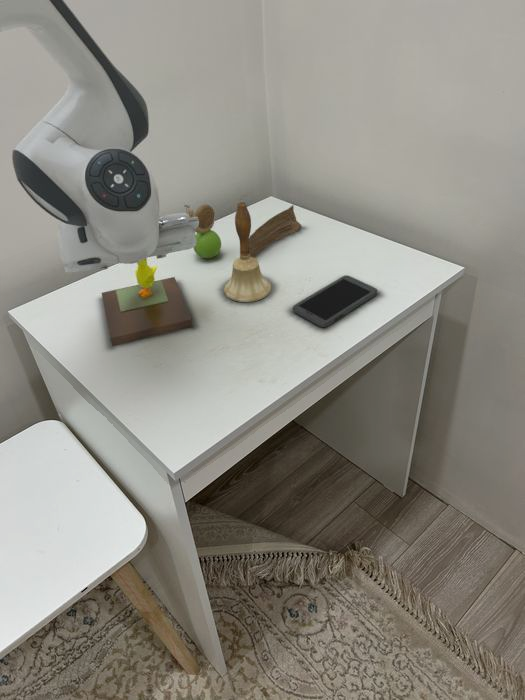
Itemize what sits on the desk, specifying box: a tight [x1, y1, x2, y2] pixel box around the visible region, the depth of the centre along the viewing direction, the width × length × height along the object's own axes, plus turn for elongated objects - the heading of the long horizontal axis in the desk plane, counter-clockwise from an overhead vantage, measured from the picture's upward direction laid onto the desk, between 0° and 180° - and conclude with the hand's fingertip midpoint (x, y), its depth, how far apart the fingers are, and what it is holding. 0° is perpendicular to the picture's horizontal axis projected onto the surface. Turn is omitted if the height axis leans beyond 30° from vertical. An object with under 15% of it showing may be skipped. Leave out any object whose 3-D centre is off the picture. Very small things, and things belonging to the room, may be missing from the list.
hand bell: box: [223, 201, 272, 303], centre depth 91 cm, size 8×8×16 cm
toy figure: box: [134, 258, 158, 298], centre depth 90 cm, size 7×4×12 cm, turn 130°
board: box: [101, 276, 194, 346], centre depth 91 cm, size 13×14×2 cm
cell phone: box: [292, 275, 379, 328], centre depth 91 cm, size 7×14×1 cm, turn 132°
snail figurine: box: [184, 203, 222, 259], centre depth 102 cm, size 5×6×12 cm
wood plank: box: [249, 204, 302, 258], centre depth 107 cm, size 15×2×5 cm, turn 143°
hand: (131, 259), depth 88 cm, fingers open, 8 cm apart
